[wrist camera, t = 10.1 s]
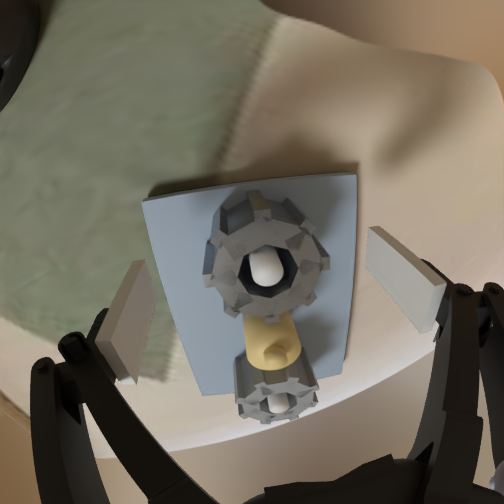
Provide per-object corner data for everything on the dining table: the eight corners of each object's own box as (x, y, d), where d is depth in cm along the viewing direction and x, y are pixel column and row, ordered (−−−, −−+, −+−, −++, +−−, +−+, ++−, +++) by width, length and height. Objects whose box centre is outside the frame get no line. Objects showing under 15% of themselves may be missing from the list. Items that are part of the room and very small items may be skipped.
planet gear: (240, 298, 23) (244, 338, 19) (189, 224, 20) (179, 253, 16) (321, 255, 22) (343, 288, 18) (279, 172, 19) (297, 187, 15)
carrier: (145, 198, 20) (111, 231, 14) (349, 172, 21) (399, 193, 14) (202, 387, 29) (201, 440, 23) (338, 366, 30) (358, 413, 24)
